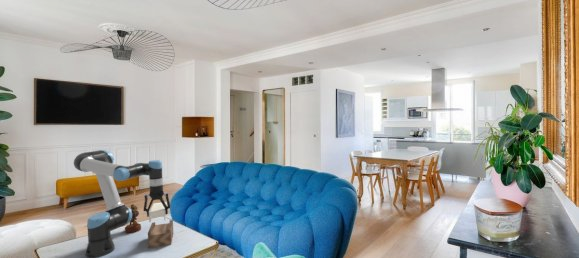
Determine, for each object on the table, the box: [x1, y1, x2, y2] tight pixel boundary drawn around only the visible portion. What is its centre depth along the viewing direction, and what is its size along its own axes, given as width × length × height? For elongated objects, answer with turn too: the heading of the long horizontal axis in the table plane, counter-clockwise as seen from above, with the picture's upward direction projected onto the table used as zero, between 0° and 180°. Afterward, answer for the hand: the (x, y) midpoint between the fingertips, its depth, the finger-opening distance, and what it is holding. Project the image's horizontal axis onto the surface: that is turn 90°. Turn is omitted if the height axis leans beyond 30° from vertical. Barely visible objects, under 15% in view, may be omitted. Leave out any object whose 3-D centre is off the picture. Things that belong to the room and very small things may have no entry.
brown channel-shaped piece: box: [147, 219, 174, 249], centre depth 188 cm, size 14×18×10 cm
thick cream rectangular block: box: [149, 201, 168, 219], centre depth 181 cm, size 8×18×4 cm, turn 19°
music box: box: [124, 203, 142, 234], centre depth 205 cm, size 15×11×20 cm
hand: (157, 220), depth 175 cm, fingers closed on thick cream rectangular block, 8 cm apart
